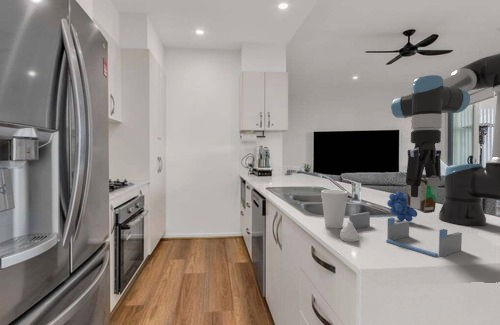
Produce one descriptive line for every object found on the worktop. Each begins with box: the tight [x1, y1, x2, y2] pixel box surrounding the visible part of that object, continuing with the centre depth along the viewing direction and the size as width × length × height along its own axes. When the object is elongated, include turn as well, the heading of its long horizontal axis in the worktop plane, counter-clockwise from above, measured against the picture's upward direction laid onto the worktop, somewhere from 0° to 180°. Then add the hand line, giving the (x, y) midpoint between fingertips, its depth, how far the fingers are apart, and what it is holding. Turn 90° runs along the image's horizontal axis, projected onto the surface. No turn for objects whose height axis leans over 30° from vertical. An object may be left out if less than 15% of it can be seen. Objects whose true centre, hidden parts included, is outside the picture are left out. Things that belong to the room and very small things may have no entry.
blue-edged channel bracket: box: [348, 211, 463, 258], centre depth 89 cm, size 12×31×7 cm, turn 30°
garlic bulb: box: [339, 220, 359, 243], centre depth 88 cm, size 6×6×5 cm
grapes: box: [386, 190, 418, 223], centre depth 112 cm, size 12×7×12 cm, turn 38°
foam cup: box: [320, 189, 349, 229], centre depth 104 cm, size 10×9×13 cm
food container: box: [406, 173, 442, 214], centre depth 83 cm, size 12×6×10 cm, turn 177°
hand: (422, 206), depth 83 cm, fingers closed on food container, 7 cm apart
